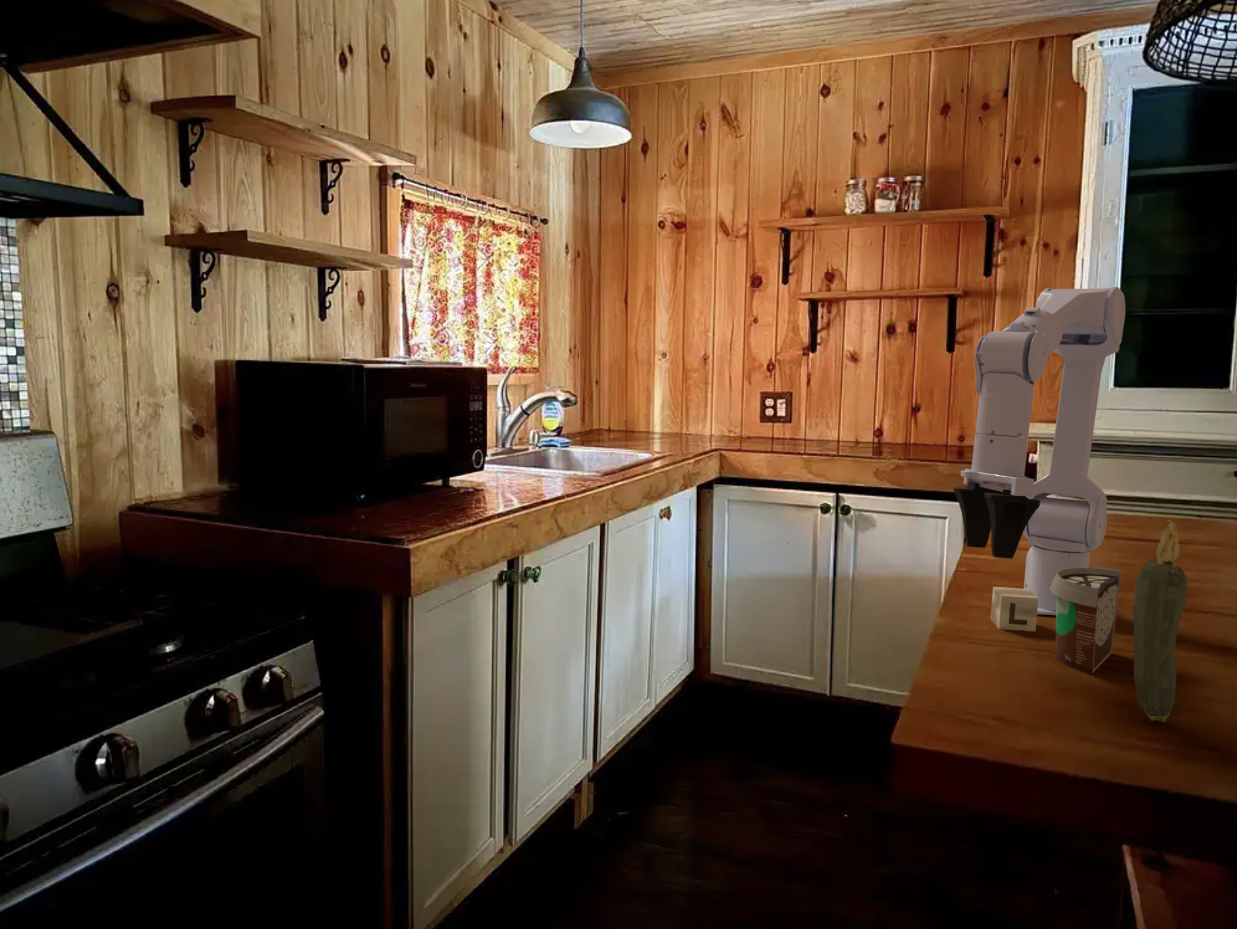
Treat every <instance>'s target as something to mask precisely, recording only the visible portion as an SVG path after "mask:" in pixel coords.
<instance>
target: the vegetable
mask: <svg viewBox="0 0 1237 929" xmlns="http://www.w3.org/2000/svg"><path fill="white" fill-rule="evenodd" d="M1155 556H1156V558H1154V559H1151V560H1150V561H1148V562H1147V563H1145V564H1144V565H1143V566H1142V568H1141V569H1140V570H1139V573H1138V575H1137V579H1136V584H1135V588H1134V596H1133V606H1132V608H1133V609H1132V616H1133V617H1132V618H1133V639H1134V640H1133V652H1134V653H1133V654H1134V661H1133V676H1134V684H1135V689H1136V696H1137V701H1138V704H1139V706H1140V708H1141V709H1142V710H1143V711H1144V712H1145V714H1146V715H1147V717H1148V719H1149V720H1150V721H1151V722H1153V721H1160V722H1163V723H1164V722H1167V720H1168V718H1169V717H1170V716H1171V710H1172V709H1173V706H1174V705H1175V699H1176V688H1177V668H1176V653H1175V651H1176V641H1177V635H1178V634H1177V633H1178V630H1179V626H1180V621H1181V618H1182V615H1183V610H1184V608H1185V604H1186V601H1187V594H1188V580H1187V577H1186V573H1185V572H1184V570H1183V569H1182V568H1181V566H1180V565H1178V563H1176V562H1175V561H1176V560H1177V559H1178V558H1179V556H1180V543H1179V533H1178V528H1177V525H1176V523H1175V522H1173V520H1171V519H1167V526H1166V528H1165V529H1163V531H1162V535H1161V538H1160V540H1159V542H1158V545H1157V549H1156V553H1155Z"/></svg>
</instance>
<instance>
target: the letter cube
mask: <svg viewBox="0 0 1237 929" xmlns="http://www.w3.org/2000/svg"><path fill="white" fill-rule="evenodd" d="M991 598H992V599H991V609H990V620H991V621H992V622H993V624H994V626H996V628H997V629H998V630H1006V631H1008V630H1009V631H1011V630H1012V631H1021V630H1022V631H1023V630H1024V631H1025V632H1036V631H1037V618H1038V614H1037V608H1038V597H1037V596H1036V595H1035V594H1033V593H1032V592H1031V591H1030V590H1029V589H1024V588H1018V587H1017V588H1016V587H1002V586H1001V587H1000V586H992V596H991ZM1024 631H1023V632H1024Z"/></svg>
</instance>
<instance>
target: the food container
mask: <svg viewBox="0 0 1237 929" xmlns="http://www.w3.org/2000/svg"><path fill="white" fill-rule="evenodd" d="M1121 585H1122V570H1120V569H1113V568H1103V567H1076V568H1066V569H1062V570H1059V571H1058V572H1057V575H1056V576H1055V577H1054V579H1053V582H1052V585H1051V588H1050V591H1051V592H1052V593H1053V594H1054V595H1056V615H1055V658H1056V659H1057V661H1059V663H1062V664H1063V665H1065V666H1068V667H1070V668H1072V669H1074V670H1079V671H1081V672H1085V673H1089V674H1093V673H1094V672H1095V671H1097V670H1098V669H1099V667H1100V666H1102V664H1103V663H1104V662H1105V661H1106V660H1107V659H1108V657H1109V656H1111V654H1112V653H1113V646H1114V636H1115V626H1116V620H1117V619H1116V618H1117V611H1118V602H1119V596H1120V595H1119V594H1120V588H1121V587H1122V586H1121Z"/></svg>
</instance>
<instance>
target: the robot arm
mask: <svg viewBox="0 0 1237 929" xmlns="http://www.w3.org/2000/svg"><path fill="white" fill-rule="evenodd" d="M1125 319H1126V300H1125V295H1124V292H1123V291H1122V290H1121V289H1120V287H1119V286H1112V287H1111V288H1107V287H1106V288H1105V287H1102V288H1057V289H1056V288H1052V287H1047V288H1045V289H1043V291H1041V292H1040V294H1039V295H1038V297H1037V300H1036V305H1035V307H1027V308H1025V309H1024V310H1023V313H1022V314H1021V315H1020V316H1018V317H1017V318H1016V319H1015V320H1014V321H1013V322H1011V323H1010V324H1009V325H1007V327H1005V328H1004V329H1003V330H1001V331H989V332H988V333H987V334H986V335H983V336H981V337H980V339H979V340H978V343H977V346H976V349H975V352H974V369H975V370H974V371H975V376H976V378H975V392H976V393H975V394H979V395H978V405H977V414H976V425H975V434H974V442H973V449H972V450H973V451H972V459H971V460H972V461H971V468H965V469H964V470H960V477H963V485H966V486H965V487H956V486H955V487H954V488H953V493H954V495H955V498H956V500H957V502H958V504H959V509H960V512H961V517H962V522H963V531H964V539H965V544H966V546H967V547H969V548H982V549H986V546H987V545H988V541H989V538H990V545H991V553H992V554H991V555H992V557H993V558H998V559H999V558H1000V559H1011V560H1013V559H1014V557H1015V555H1016V552H1017V549H1018V546H1019V544H1020V541H1021V538H1022V536H1023V535H1024V538H1026V539H1028V545H1032V546H1030V548H1029V550H1028V551H1027V554H1026V559H1025V569H1024V571H1025V572H1024V583H1023V584H1024V585H1023V589H1029V590H1030V591H1031V592H1032V593H1033V594H1035V595H1036V596H1037V597H1038V608H1037V615H1047V616H1048V615H1050V616H1056V595H1054V594H1053V593H1052V592H1051V591H1050V588H1051V585H1052V582H1053V579H1054V577H1055V576H1056V575H1057V572H1058V571H1059V570H1062V569H1066V568H1076V567H1089V566H1090V557H1091V556H1090V554H1091V550H1093V549H1096V548H1098V547H1099V546H1100V545H1102V543H1103V541H1104V538H1105V535H1106V532H1107V523H1108V512H1107V505H1108V504H1107V503H1108V499H1107V495H1106V493H1105V492H1104V490H1102V488H1100V487H1099V485H1097V484H1096V483H1095V482H1093V480H1091V479H1090V478H1089V477H1088V475H1089V474H1088V473H1089V466H1090V459H1091V453H1092V443H1093V436H1094V429H1095V422H1096V414H1097V408H1098V407H1097V406H1098V400H1099V392H1100V386H1101V377H1102V372H1103V369H1104V365H1105V361H1106V358H1107V357H1108V356H1111V355H1113V354H1115V353H1118V352H1119V351H1120V345H1121V343H1122V339H1123V332H1124V325H1125ZM1052 353H1054V354H1057V355H1059V356H1061V357H1062V360H1063V369H1062V378H1061V384H1060V392H1059V400H1058V406H1057V407H1058V408H1057V415H1056V420H1055V421H1056V422H1055V429H1054V437H1053V444H1052V451H1051V458H1050V459H1051V460H1050V466H1049V472H1048V474H1047V475H1045V476H1043V477H1042V478H1040V479H1038V480H1037V481H1035V479H1034V478H1033V479H1032V478H1029V477H1028V476H1025V471H1026V463H1027V462H1026V461H1027V454H1028V444H1029V436H1030V434H1029V433H1030V425H1031V417H1032V407H1033V400H1034V399H1033V398H1034V390H1035V383H1037V382H1040V381H1041V379H1042V377H1043V374H1044V370H1045V367H1046V365H1047V364H1048V361H1049V356H1050V355H1051V354H1052ZM1052 495H1053V496H1054V495H1056V496H1066V497H1074V498H1080V499H1081V498H1082V499H1084V500H1086V501H1080V500H1073V499H1064V498H1057V497H1049V496H1052ZM990 535H991V536H990Z"/></svg>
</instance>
